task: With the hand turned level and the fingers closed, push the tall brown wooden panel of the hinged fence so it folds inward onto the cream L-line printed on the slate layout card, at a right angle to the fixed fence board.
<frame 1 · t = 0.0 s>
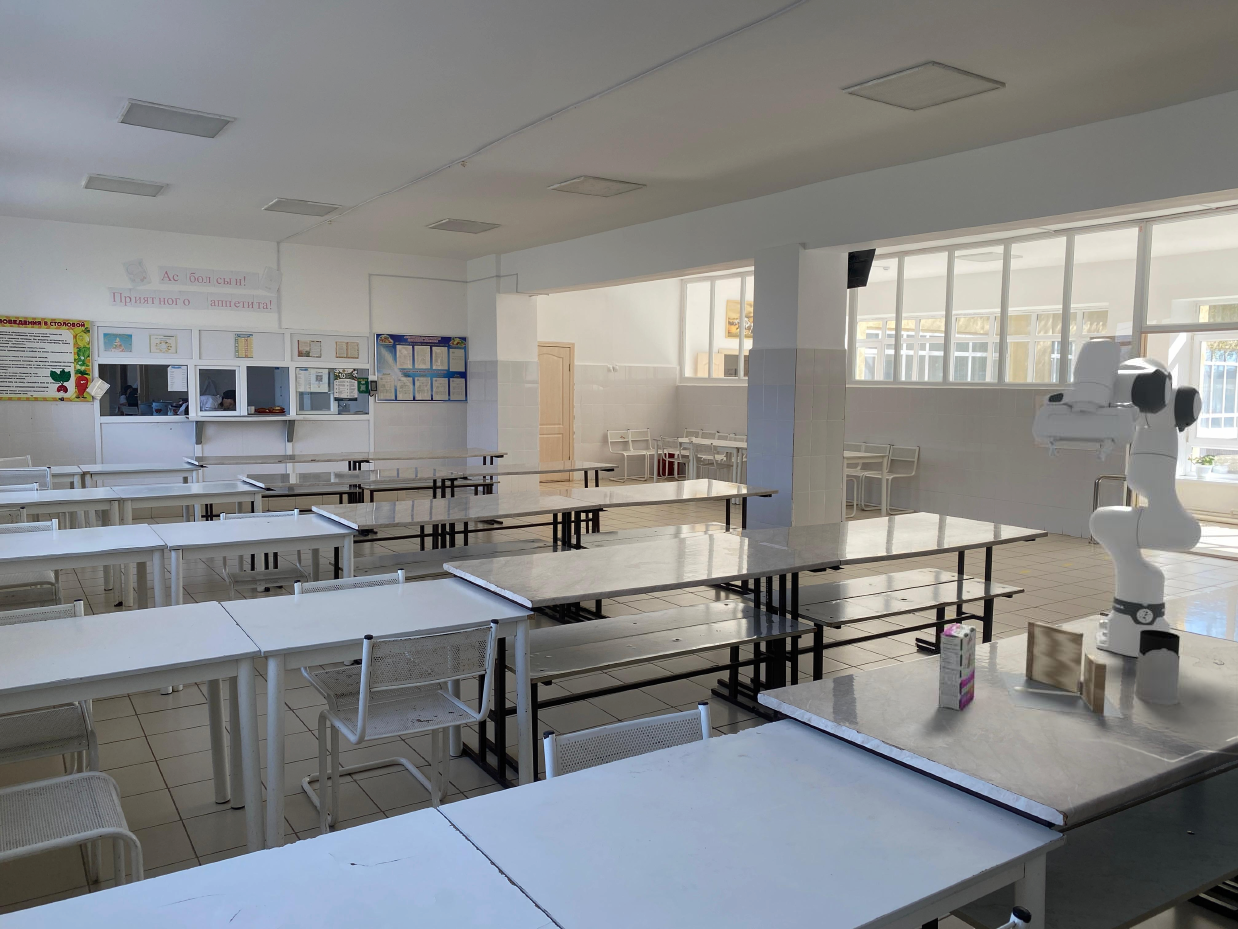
hand: (1075, 458, 185), 54 cm above the table, tool tilted 30°, fingers open, 8 cm apart
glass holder: (1152, 696, 193), on the table
layout card: (1056, 695, 192), on the table
fixed fence: (1083, 695, 191), resting on layout card
brown wooden panel: (1053, 655, 197), point 8 cm above the table, hinge at -45.0°
candy bar box: (955, 703, 187), on the table
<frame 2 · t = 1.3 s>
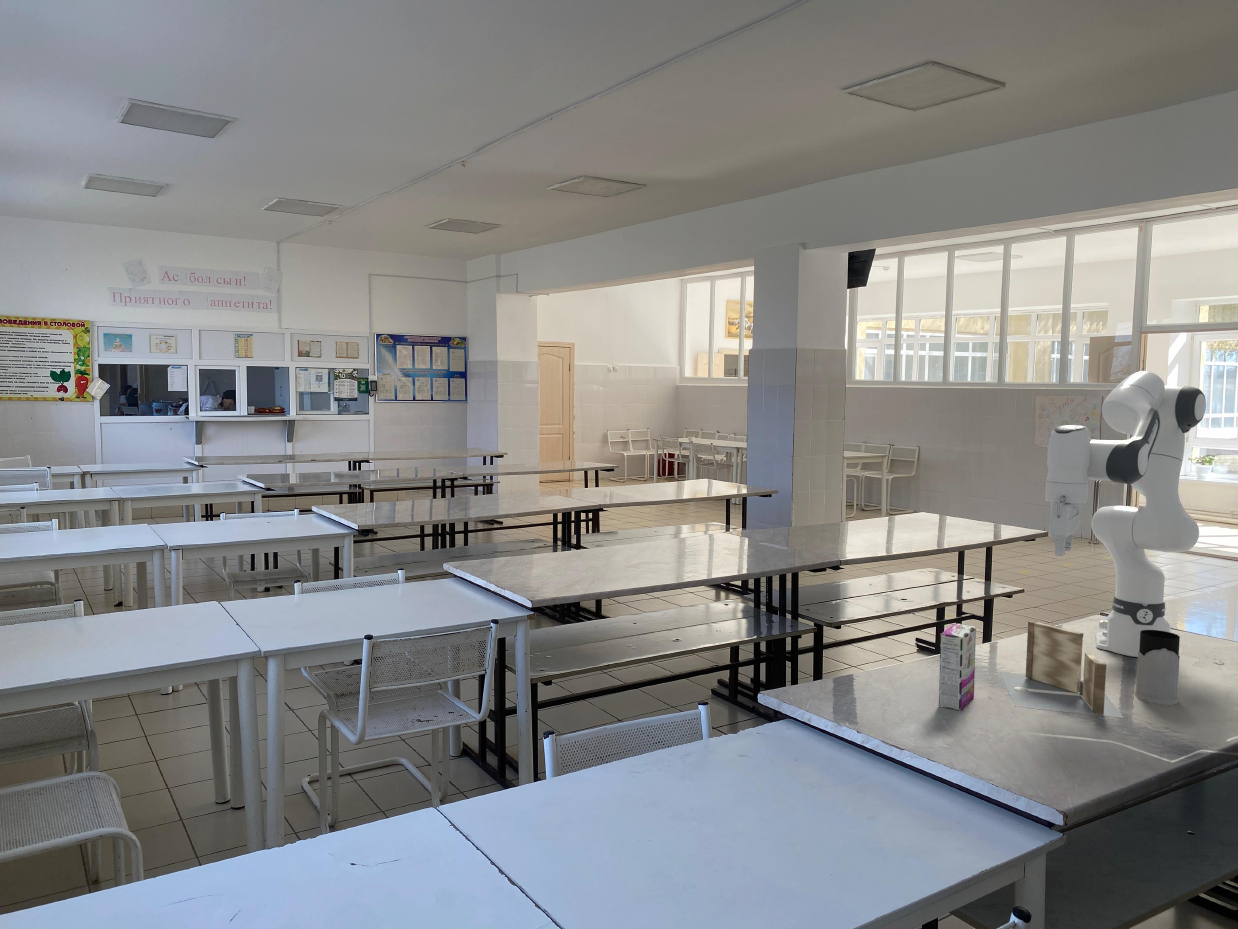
hand: (1063, 553, 198), 31 cm above the table, tool pointing down, fingers open, 8 cm apart
nothing on the table moved.
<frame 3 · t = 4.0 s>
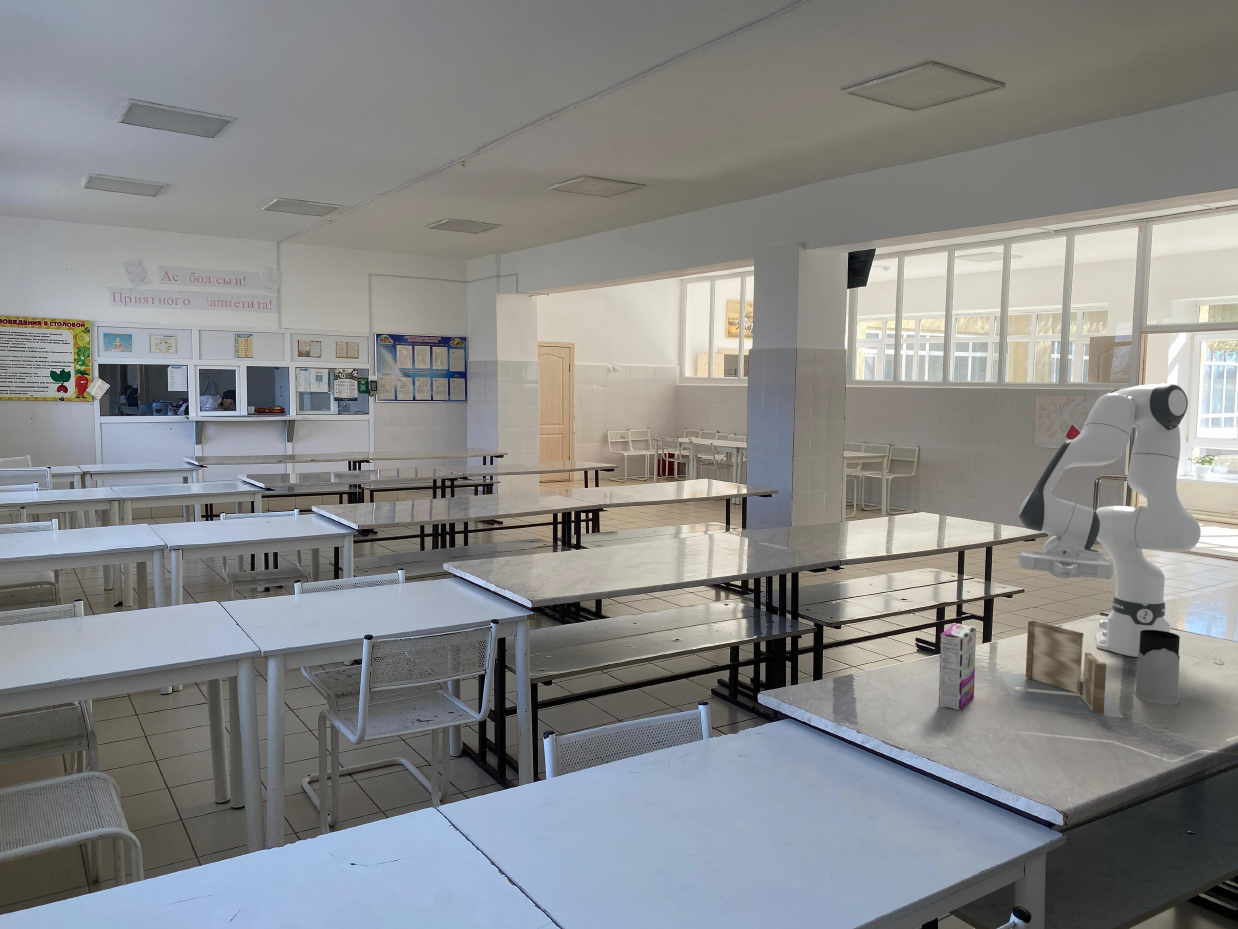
hand: (1066, 570, 198), 27 cm above the table, tool horizontal, fingers closed
nothing on the table moved.
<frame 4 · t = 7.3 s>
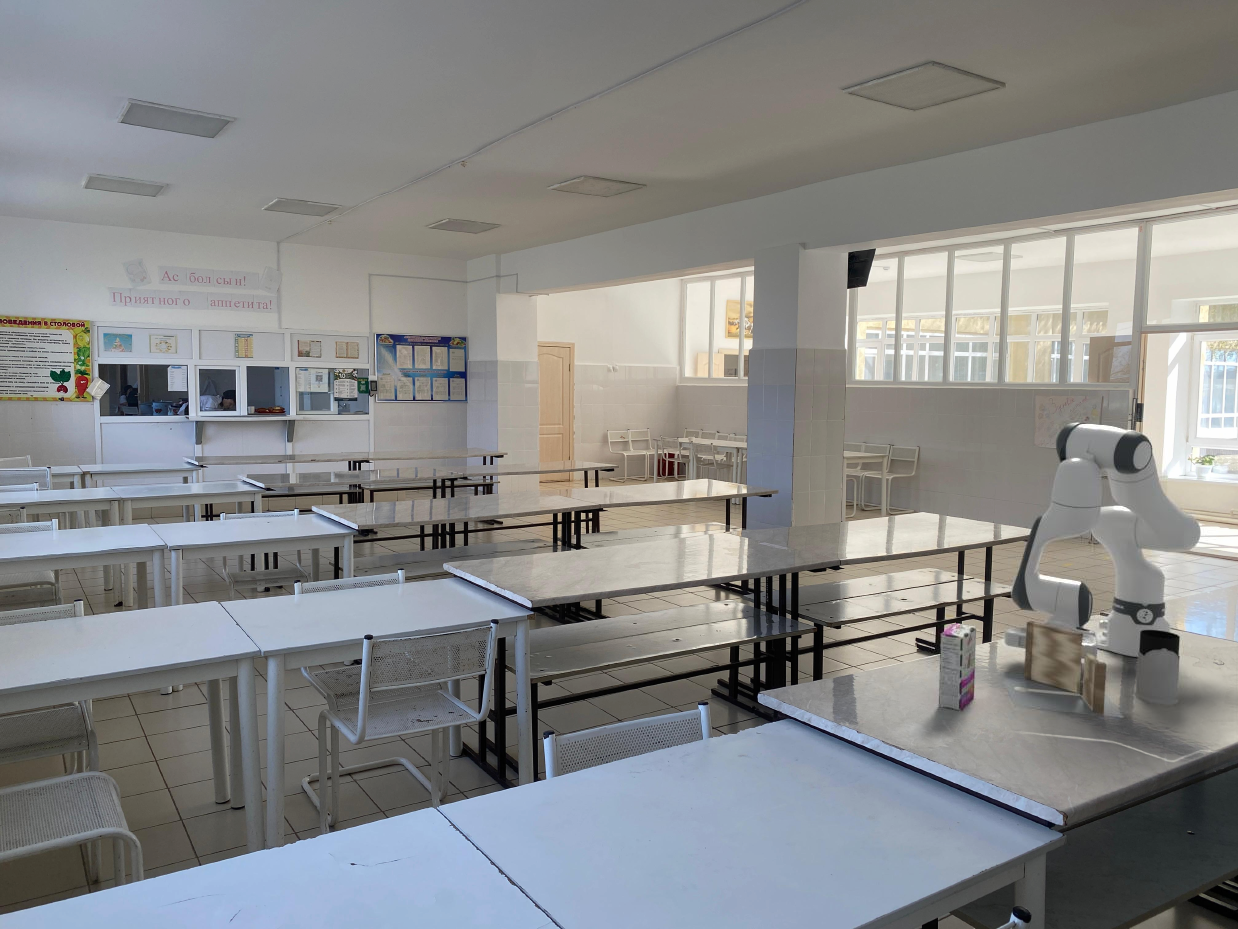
hand: (1044, 650, 200), 8 cm above the table, tool horizontal, fingers closed
brown wooden panel: (1053, 656, 197), point 8 cm above the table, hinge at -42.4°, touching gripper
everything else where it was.
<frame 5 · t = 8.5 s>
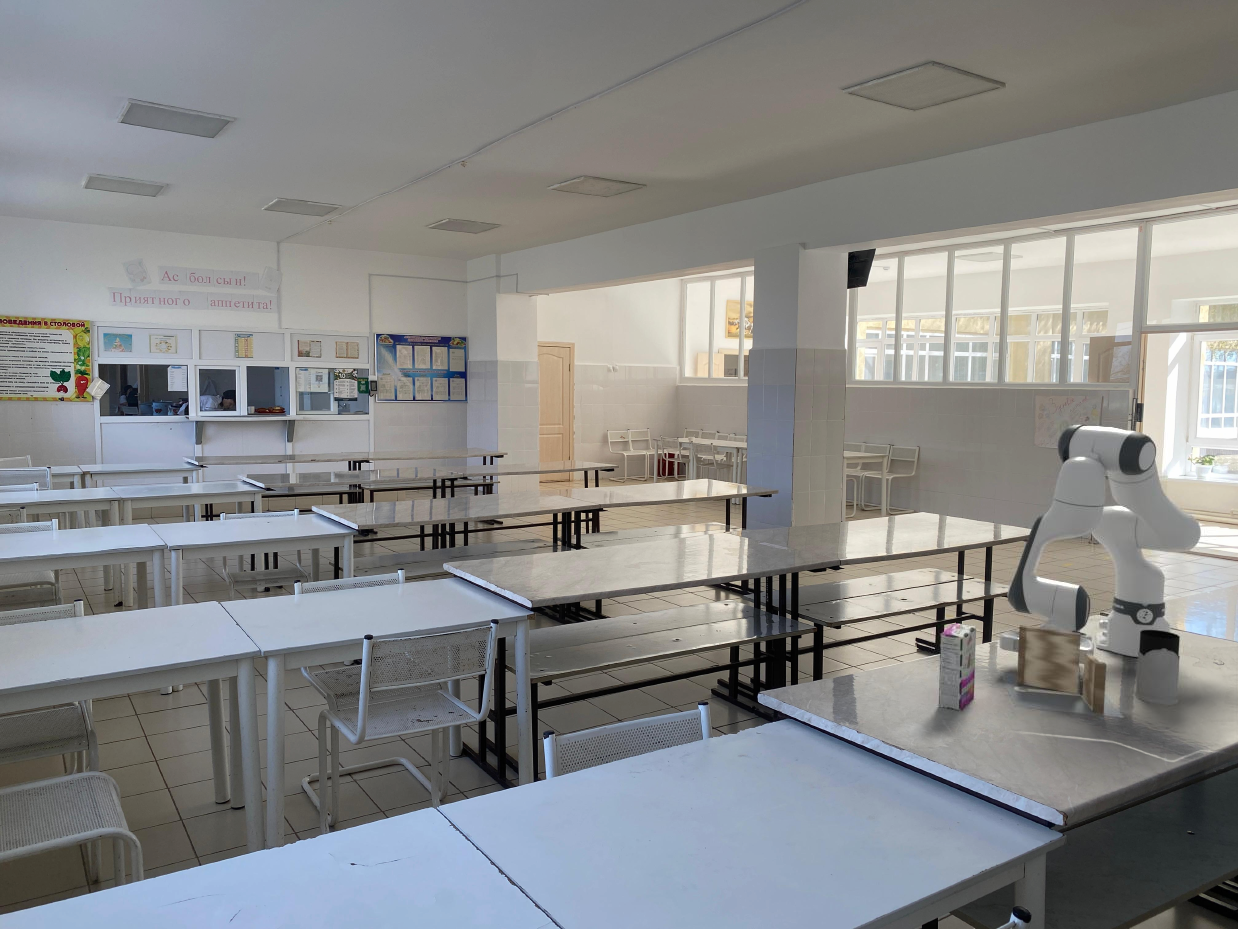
hand: (1039, 654, 196), 8 cm above the table, tool horizontal, fingers closed
brown wooden panel: (1048, 658, 195), point 8 cm above the table, hinge at -17.6°, touching gripper
everything else where it was.
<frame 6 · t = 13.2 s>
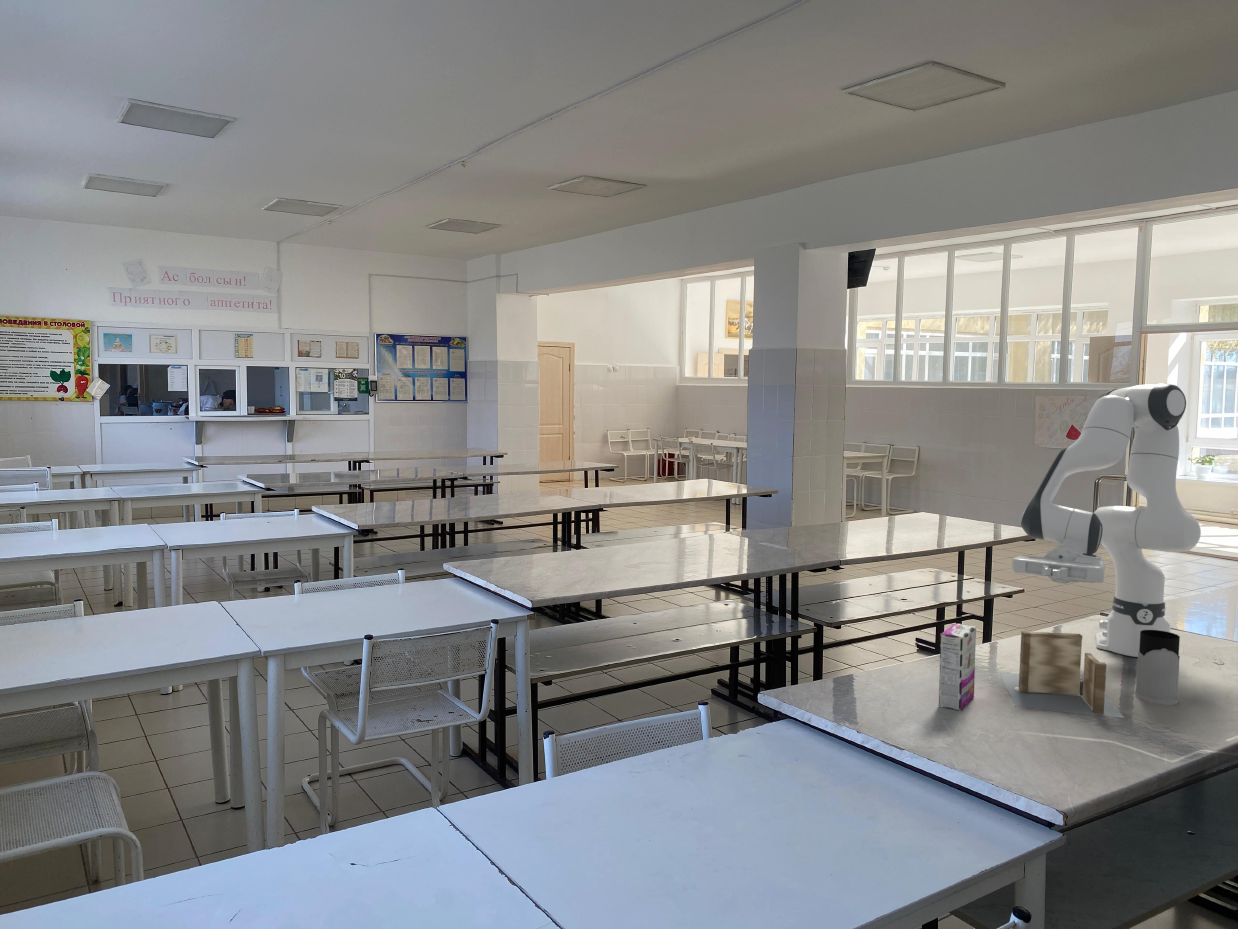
hand: (1051, 573, 201), 26 cm above the table, tool horizontal, fingers closed
brown wooden panel: (1050, 662, 192), point 8 cm above the table, hinge at 7.3°
everything else where it was.
at the end: brown wooden panel at +7° (first picture: -45°) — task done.
